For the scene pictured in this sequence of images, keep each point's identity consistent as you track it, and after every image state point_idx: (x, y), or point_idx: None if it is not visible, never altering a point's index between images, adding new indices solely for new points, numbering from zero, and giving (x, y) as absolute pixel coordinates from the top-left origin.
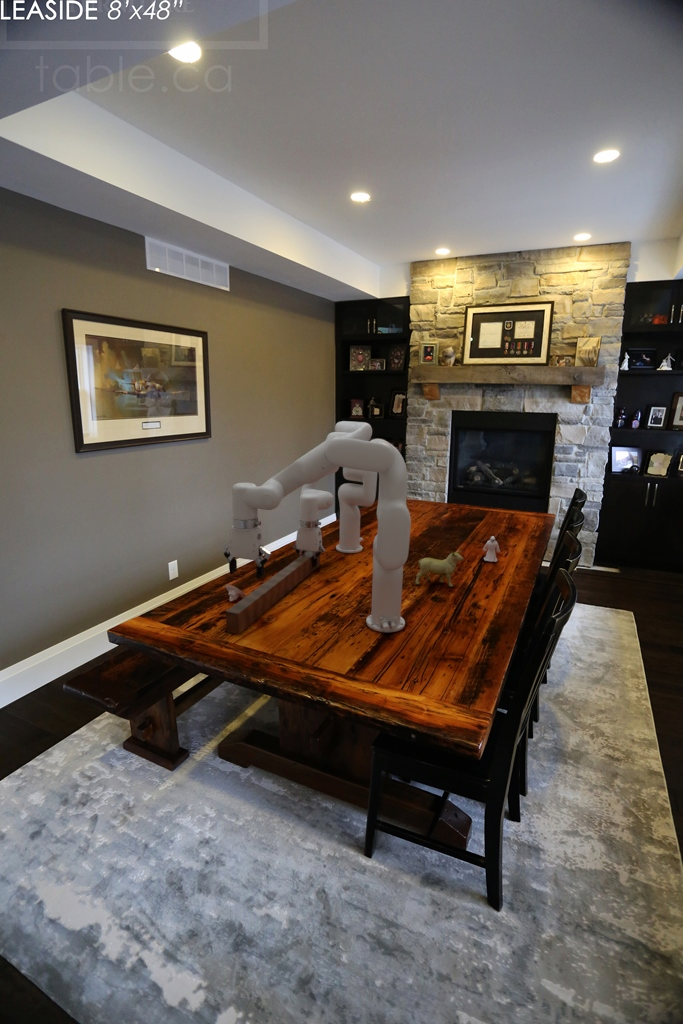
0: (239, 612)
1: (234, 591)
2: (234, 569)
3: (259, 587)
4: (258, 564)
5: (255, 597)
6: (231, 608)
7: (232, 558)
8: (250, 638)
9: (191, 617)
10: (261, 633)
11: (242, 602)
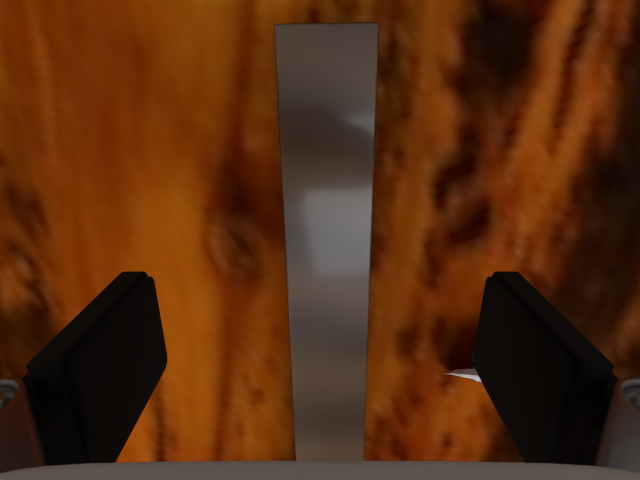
0: (277, 45)
1: None
2: (492, 343)
3: (358, 403)
4: (7, 411)
5: (307, 288)
6: (365, 84)
7: (602, 439)
8: (205, 21)
9: (619, 112)
10: (187, 97)
11: (344, 197)
